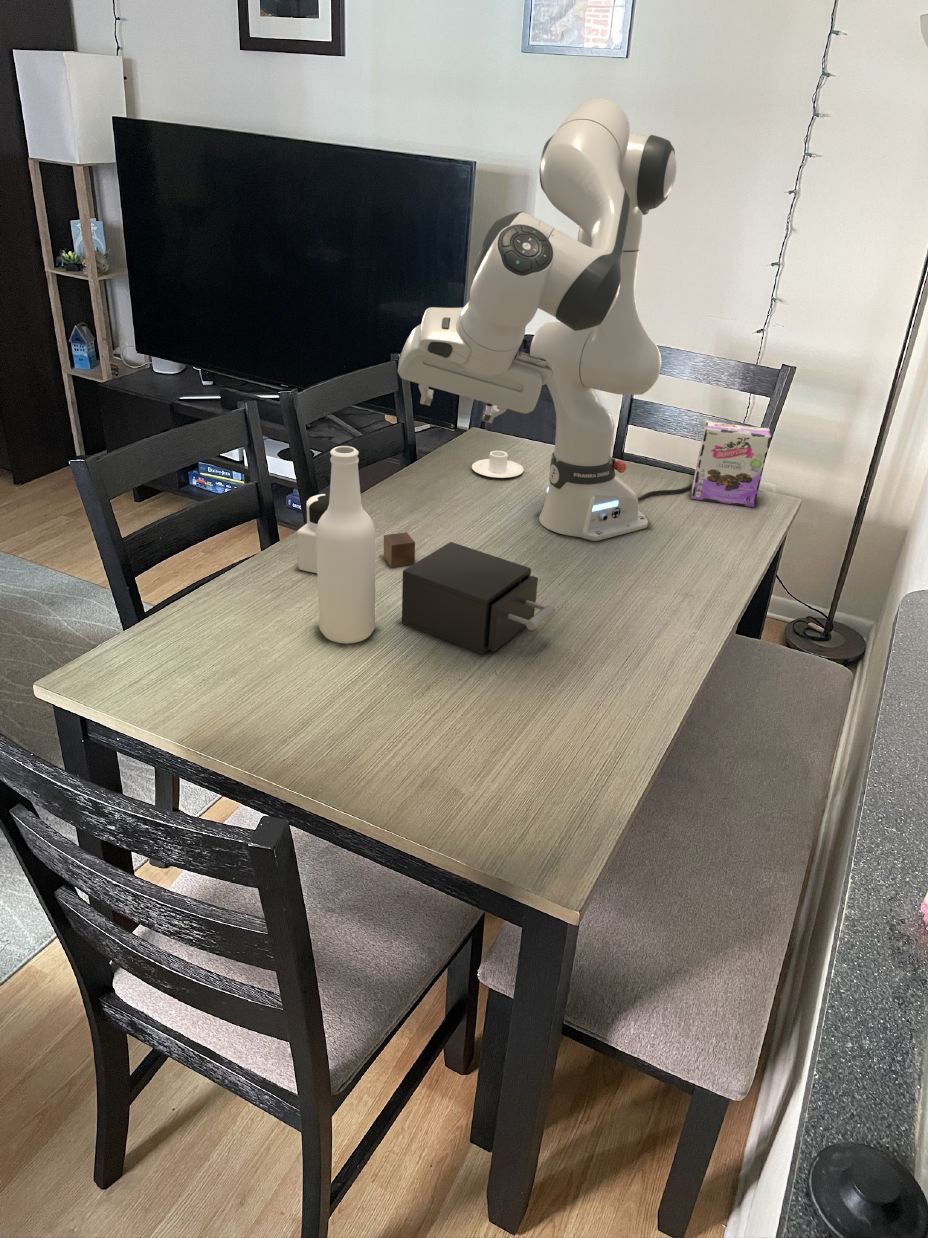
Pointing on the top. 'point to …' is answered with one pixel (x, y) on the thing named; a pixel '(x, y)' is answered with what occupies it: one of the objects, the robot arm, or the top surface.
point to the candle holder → (497, 466)
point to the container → (311, 533)
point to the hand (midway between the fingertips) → (456, 410)
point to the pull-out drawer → (515, 612)
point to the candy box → (730, 463)
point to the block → (399, 549)
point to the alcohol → (345, 556)
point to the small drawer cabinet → (456, 593)
